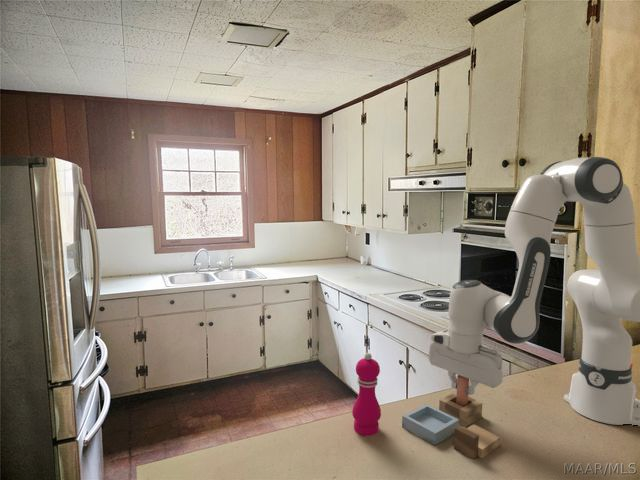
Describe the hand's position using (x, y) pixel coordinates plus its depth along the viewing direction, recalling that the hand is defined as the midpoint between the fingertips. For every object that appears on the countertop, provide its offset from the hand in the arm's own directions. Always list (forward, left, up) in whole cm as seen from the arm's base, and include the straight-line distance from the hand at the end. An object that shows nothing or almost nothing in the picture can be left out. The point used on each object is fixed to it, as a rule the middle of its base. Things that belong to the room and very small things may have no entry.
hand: (462, 390), depth 112 cm
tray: (+12, -1, -7) cm, 14 cm away
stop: (+14, +10, -7) cm, 18 cm away
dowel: (0, 0, -6) cm, 6 cm away
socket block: (0, 0, -7) cm, 7 cm away
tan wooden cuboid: (+9, +10, -7) cm, 15 cm away
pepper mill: (+25, -11, -7) cm, 29 cm away
